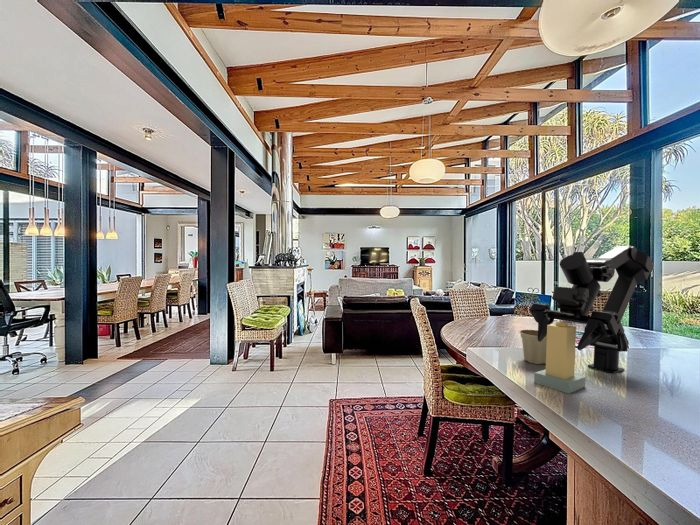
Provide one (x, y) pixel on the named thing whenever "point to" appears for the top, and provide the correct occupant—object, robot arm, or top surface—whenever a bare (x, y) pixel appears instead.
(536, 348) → the flower pot
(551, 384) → the plinth brick
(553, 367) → the tower brick
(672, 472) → the top surface
